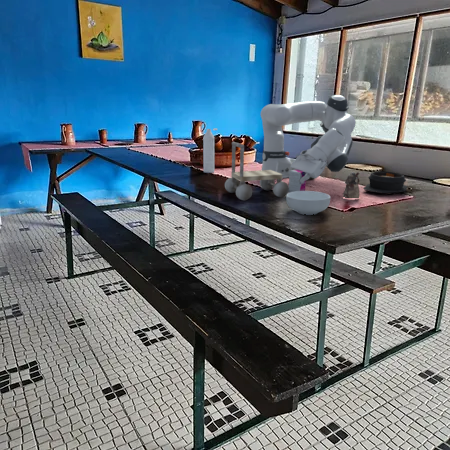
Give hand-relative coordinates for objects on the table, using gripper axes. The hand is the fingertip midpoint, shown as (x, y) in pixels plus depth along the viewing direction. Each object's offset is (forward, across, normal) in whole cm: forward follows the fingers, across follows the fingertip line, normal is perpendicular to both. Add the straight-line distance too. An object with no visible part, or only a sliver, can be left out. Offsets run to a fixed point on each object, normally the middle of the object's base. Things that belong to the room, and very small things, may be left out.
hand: (295, 180), depth 184 cm
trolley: (+16, +8, +6) cm, 19 cm away
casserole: (-28, -6, -38) cm, 48 cm away
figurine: (-10, -13, -20) cm, 26 cm away
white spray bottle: (+17, +69, +8) cm, 71 cm away
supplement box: (+4, 0, -6) cm, 7 cm away
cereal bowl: (+12, -25, 0) cm, 28 cm away
